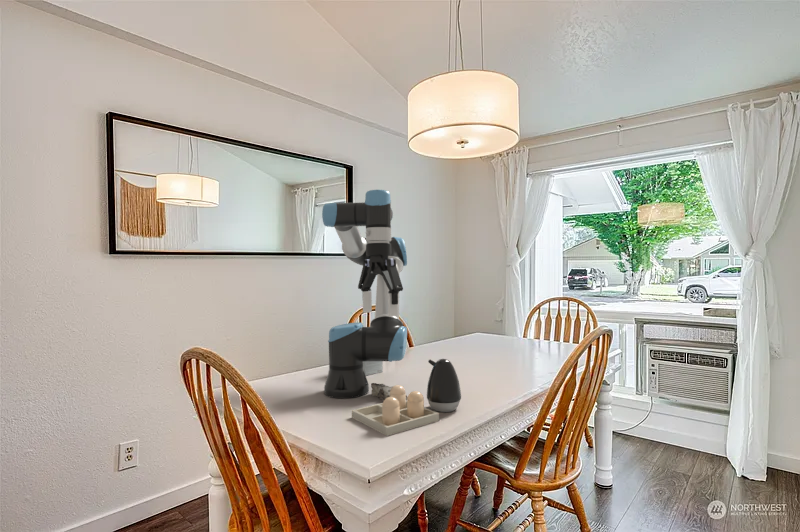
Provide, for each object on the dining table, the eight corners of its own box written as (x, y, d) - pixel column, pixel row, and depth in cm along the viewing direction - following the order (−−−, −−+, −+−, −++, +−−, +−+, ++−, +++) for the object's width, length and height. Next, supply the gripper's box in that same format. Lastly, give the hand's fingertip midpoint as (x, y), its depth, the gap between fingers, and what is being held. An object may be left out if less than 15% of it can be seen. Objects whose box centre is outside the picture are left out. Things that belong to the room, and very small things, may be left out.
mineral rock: (411, 402, 140) (411, 388, 140) (389, 407, 136) (389, 392, 136) (389, 392, 153) (389, 379, 153) (368, 395, 149) (368, 382, 149)
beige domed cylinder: (387, 411, 130) (386, 384, 130) (399, 408, 133) (399, 382, 133) (396, 415, 126) (395, 388, 126) (409, 412, 129) (408, 385, 129)
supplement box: (351, 372, 182) (350, 330, 182) (368, 368, 188) (368, 328, 188) (365, 376, 174) (364, 333, 174) (383, 372, 181) (382, 330, 181)
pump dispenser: (438, 402, 139) (438, 354, 139) (467, 408, 133) (467, 358, 133) (419, 411, 132) (418, 359, 132) (449, 418, 125) (448, 364, 125)
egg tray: (351, 419, 125) (351, 410, 125) (401, 406, 136) (401, 398, 136) (387, 437, 111) (386, 427, 111) (439, 422, 122) (439, 413, 122)
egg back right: (404, 419, 123) (403, 391, 123) (417, 415, 126) (416, 388, 126) (414, 423, 119) (414, 394, 119) (427, 420, 122) (427, 391, 122)
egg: (379, 426, 118) (378, 396, 118) (393, 422, 121) (392, 393, 121) (389, 431, 114) (388, 400, 114) (403, 427, 117) (402, 397, 117)
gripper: (346, 244, 140) (347, 311, 140) (392, 240, 120) (393, 318, 120) (366, 244, 144) (367, 310, 144) (414, 240, 124) (415, 316, 124)
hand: (379, 314), depth 132 cm, fingers open, 13 cm apart
